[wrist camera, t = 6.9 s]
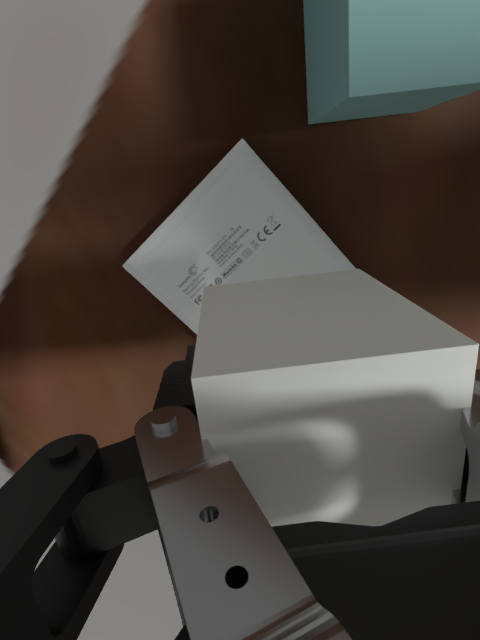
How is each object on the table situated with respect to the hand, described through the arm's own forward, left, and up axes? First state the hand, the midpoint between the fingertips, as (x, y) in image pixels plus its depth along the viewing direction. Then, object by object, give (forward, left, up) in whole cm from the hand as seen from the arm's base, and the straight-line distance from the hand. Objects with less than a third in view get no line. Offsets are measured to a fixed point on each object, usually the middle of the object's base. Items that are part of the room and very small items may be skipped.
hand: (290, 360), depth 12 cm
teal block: (-5, -10, -8) cm, 14 cm away
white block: (0, 0, -1) cm, 1 cm away
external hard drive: (0, 0, -9) cm, 9 cm away
